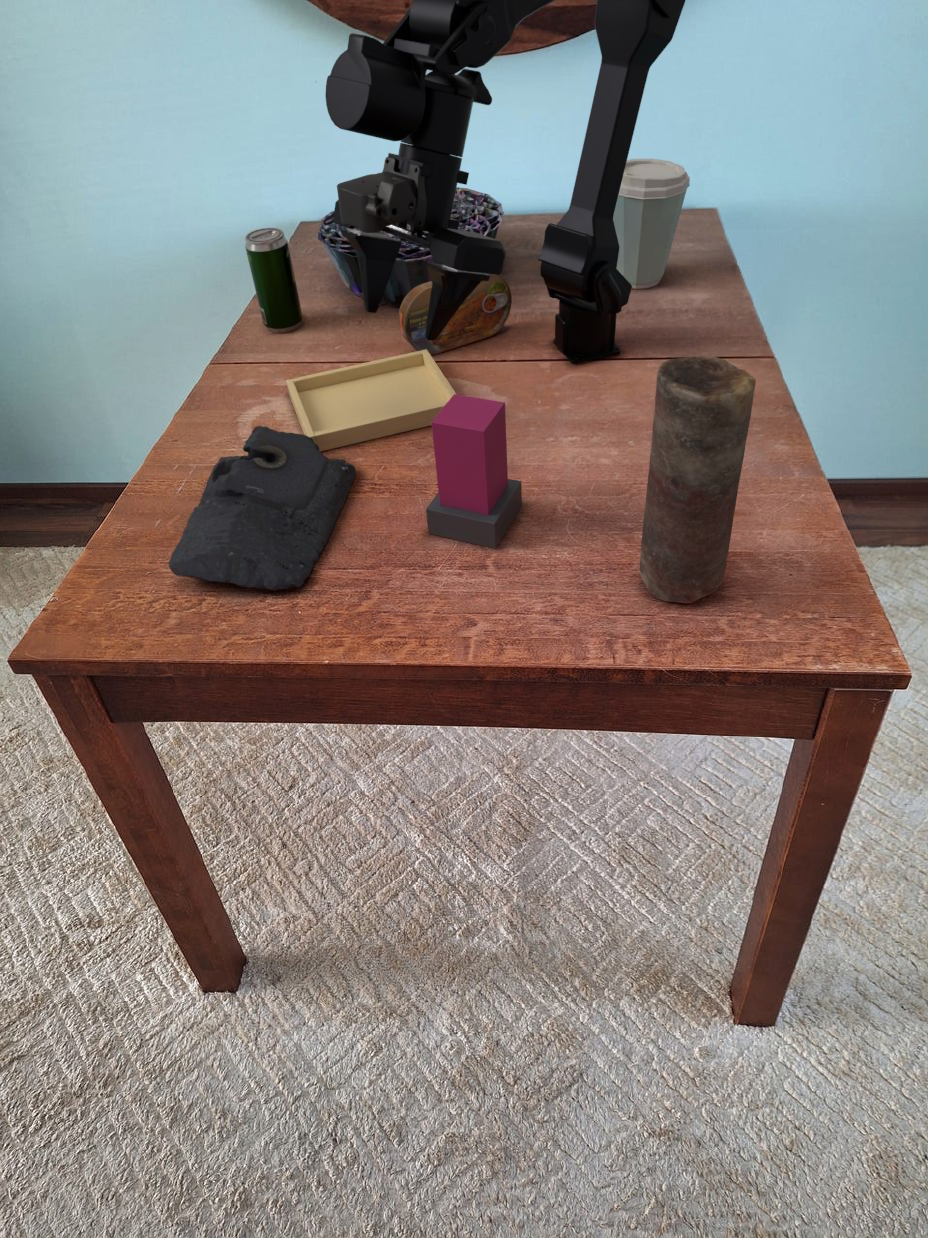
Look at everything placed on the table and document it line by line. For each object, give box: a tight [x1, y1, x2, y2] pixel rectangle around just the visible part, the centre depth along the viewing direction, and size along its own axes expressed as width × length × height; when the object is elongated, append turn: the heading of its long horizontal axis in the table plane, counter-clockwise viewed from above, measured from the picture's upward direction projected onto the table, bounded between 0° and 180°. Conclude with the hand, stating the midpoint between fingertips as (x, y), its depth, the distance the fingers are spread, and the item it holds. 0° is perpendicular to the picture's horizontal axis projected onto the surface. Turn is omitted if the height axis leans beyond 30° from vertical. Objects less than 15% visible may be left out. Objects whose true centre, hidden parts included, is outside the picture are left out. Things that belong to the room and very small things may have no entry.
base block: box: [425, 478, 523, 549], centre depth 84 cm, size 7×7×3 cm
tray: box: [285, 349, 457, 453], centre depth 100 cm, size 18×14×2 cm
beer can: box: [244, 227, 304, 334], centre depth 114 cm, size 5×5×12 cm
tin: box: [398, 273, 513, 356], centre depth 108 cm, size 15×3×8 cm, turn 117°
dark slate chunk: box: [168, 425, 357, 591], centre depth 85 cm, size 15×22×5 cm
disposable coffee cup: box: [613, 158, 691, 290], centre depth 116 cm, size 11×11×15 cm
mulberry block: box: [431, 393, 509, 515], centre depth 79 cm, size 5×5×9 cm
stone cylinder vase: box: [639, 355, 757, 604], centre depth 70 cm, size 8×7×20 cm
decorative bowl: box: [317, 186, 505, 308], centre depth 124 cm, size 26×28×10 cm
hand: (399, 325), depth 85 cm, fingers open, 9 cm apart
